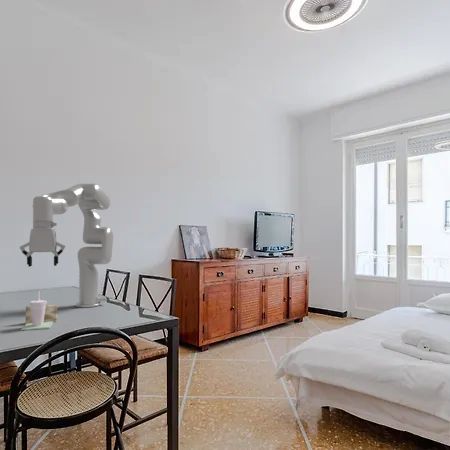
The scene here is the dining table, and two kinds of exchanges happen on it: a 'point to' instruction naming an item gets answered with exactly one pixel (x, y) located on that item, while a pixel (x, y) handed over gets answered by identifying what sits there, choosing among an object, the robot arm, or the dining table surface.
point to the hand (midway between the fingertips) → (42, 265)
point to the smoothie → (38, 311)
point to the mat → (30, 326)
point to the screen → (48, 316)
